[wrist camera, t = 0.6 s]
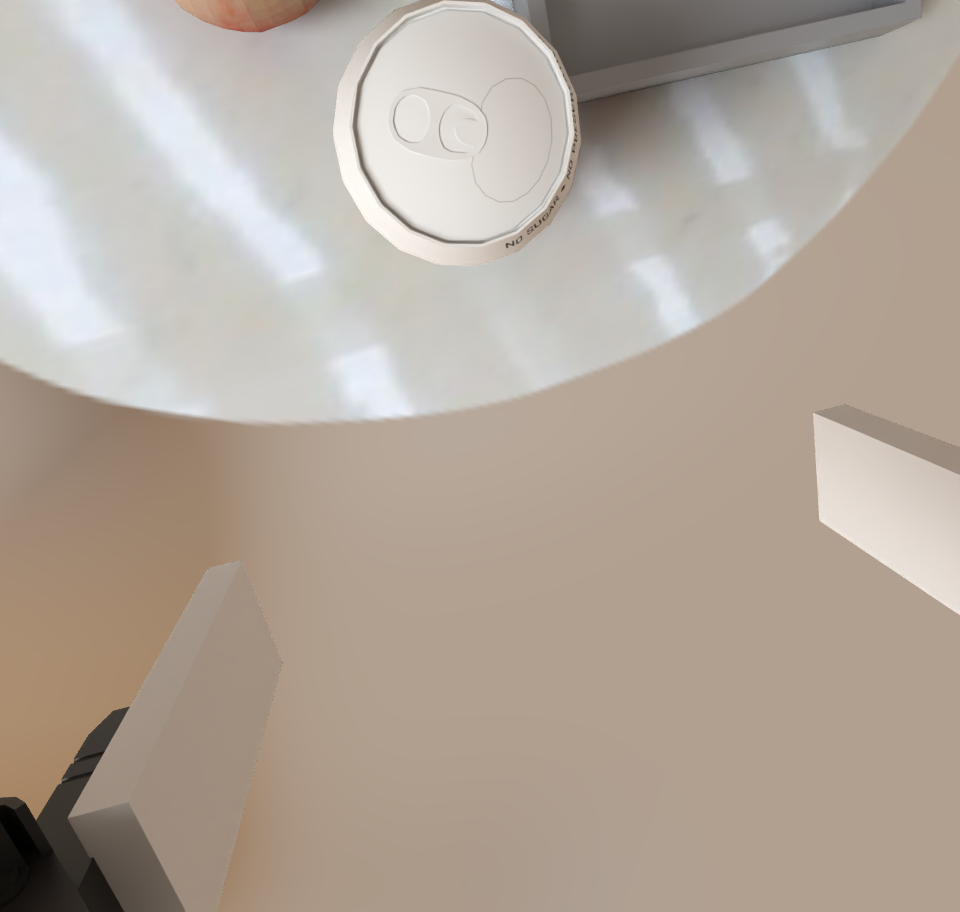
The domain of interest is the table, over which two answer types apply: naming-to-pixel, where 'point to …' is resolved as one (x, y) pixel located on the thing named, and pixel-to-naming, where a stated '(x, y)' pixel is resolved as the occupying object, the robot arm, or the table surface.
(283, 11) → the fruit
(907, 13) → the tray
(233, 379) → the table surface
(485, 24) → the supplement can
